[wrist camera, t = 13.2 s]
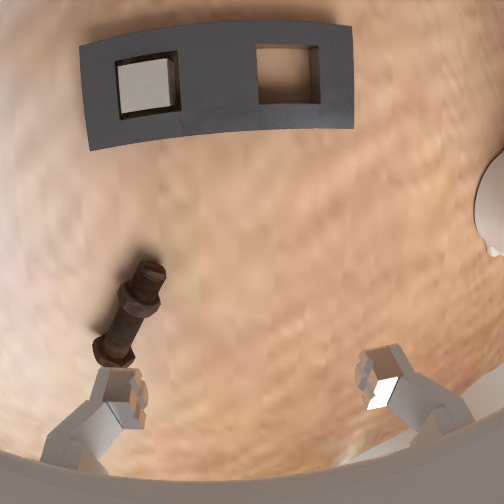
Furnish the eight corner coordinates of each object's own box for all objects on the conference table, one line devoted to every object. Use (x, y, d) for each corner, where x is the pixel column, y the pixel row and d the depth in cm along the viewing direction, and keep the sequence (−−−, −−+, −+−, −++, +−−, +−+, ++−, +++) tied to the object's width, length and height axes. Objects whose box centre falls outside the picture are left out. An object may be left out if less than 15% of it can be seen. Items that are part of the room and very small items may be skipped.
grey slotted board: (339, 30, 25) (351, 26, 23) (341, 125, 30) (353, 128, 27) (90, 49, 23) (79, 46, 21) (100, 145, 28) (90, 151, 25)
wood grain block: (174, 63, 25) (166, 58, 21) (176, 103, 27) (170, 106, 23) (132, 69, 25) (117, 66, 21) (135, 109, 27) (121, 113, 23)
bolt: (164, 254, 37) (121, 339, 41) (126, 246, 33) (88, 338, 37) (184, 288, 33) (135, 373, 38) (142, 283, 29) (100, 374, 34)
